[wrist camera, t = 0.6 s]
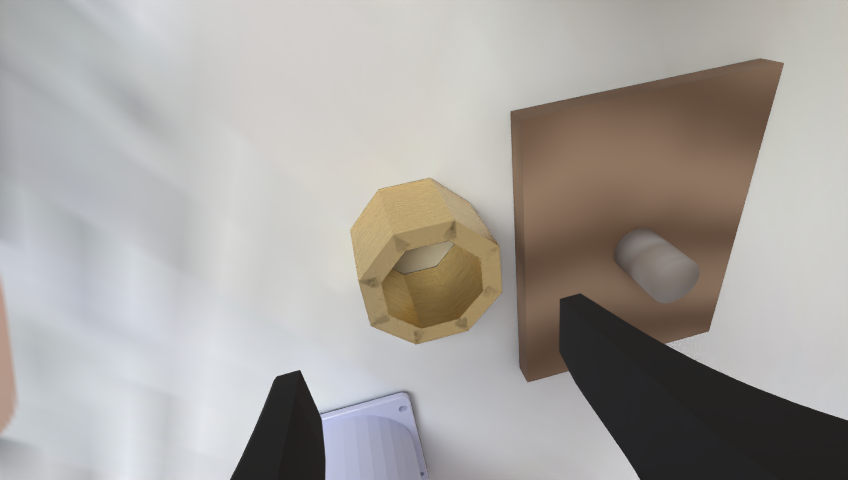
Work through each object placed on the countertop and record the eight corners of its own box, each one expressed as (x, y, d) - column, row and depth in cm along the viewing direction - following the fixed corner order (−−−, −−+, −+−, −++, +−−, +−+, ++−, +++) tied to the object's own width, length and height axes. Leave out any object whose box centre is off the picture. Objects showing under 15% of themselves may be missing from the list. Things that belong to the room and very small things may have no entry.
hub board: (694, 318, 29) (748, 366, 25) (519, 367, 28) (550, 425, 24) (760, 58, 20) (855, 76, 17) (510, 111, 19) (556, 143, 15)
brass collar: (475, 270, 23) (503, 321, 20) (368, 296, 22) (378, 354, 19) (465, 169, 20) (497, 210, 17) (341, 197, 19) (348, 245, 16)
